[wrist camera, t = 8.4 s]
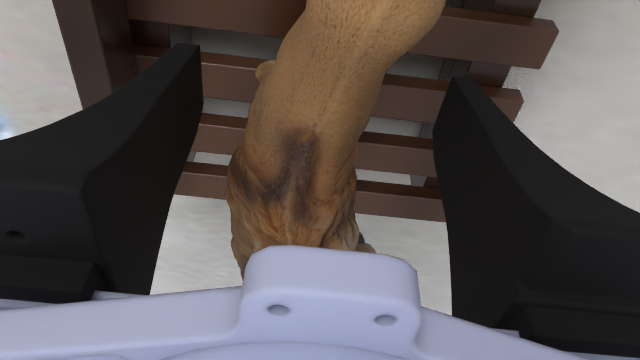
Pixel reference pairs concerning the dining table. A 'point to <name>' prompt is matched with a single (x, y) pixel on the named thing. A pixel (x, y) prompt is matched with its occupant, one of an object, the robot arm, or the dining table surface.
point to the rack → (239, 72)
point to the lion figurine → (316, 124)
